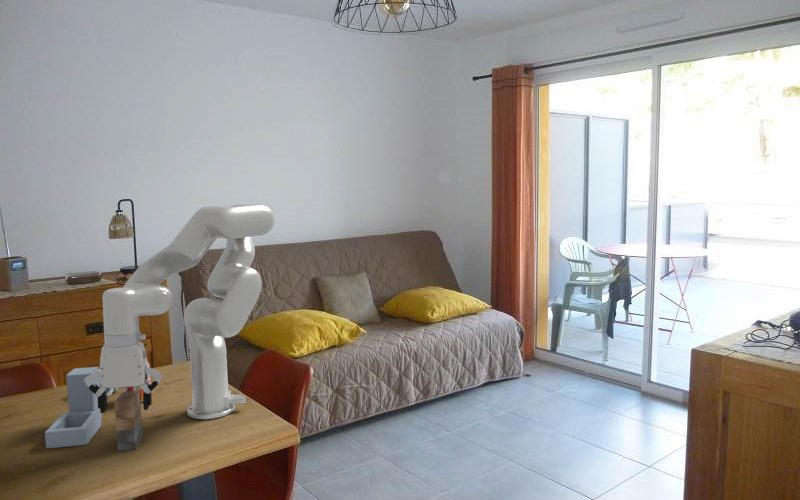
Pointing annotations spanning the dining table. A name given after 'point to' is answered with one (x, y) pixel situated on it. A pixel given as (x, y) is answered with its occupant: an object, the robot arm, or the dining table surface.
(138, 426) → the wooden rectangular block
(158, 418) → the dining table surface
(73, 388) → the blue stepped tray
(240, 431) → the dining table surface
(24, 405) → the dining table surface
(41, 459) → the dining table surface
